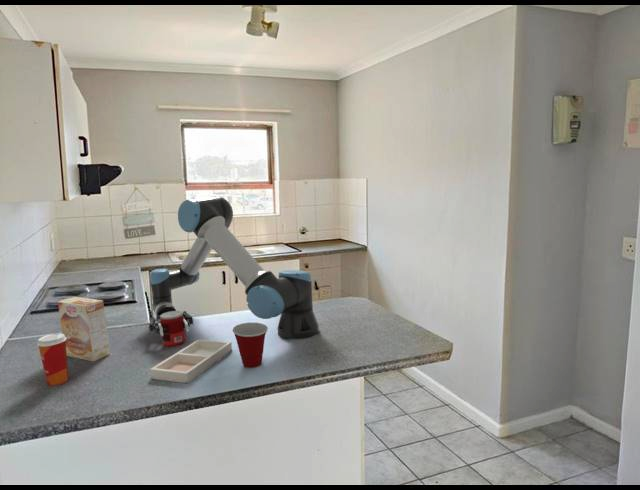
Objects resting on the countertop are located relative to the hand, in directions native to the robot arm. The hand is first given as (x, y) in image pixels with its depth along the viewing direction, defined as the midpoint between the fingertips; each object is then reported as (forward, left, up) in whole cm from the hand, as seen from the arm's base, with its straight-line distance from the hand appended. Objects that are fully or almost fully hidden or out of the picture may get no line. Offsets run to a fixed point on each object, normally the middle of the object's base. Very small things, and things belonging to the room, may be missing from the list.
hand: (174, 329), depth 163 cm
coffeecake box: (+27, +13, -7) cm, 31 cm away
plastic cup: (-34, +7, -7) cm, 35 cm away
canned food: (+3, -3, -7) cm, 8 cm away
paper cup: (+19, +32, -7) cm, 38 cm away
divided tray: (-15, +11, -7) cm, 19 cm away
